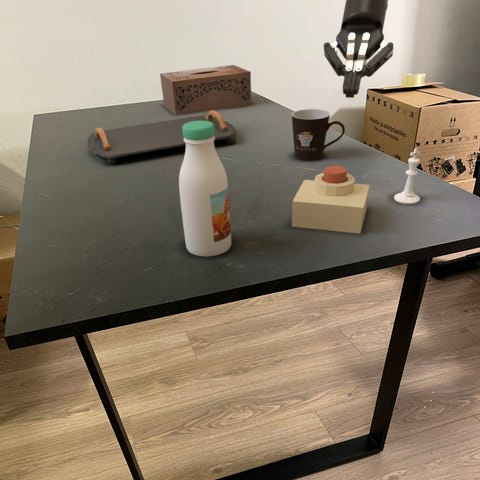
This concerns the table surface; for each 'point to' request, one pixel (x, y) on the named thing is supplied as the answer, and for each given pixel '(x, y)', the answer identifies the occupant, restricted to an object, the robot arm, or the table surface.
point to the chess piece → (409, 182)
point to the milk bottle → (204, 193)
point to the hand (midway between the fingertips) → (349, 95)
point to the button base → (330, 205)
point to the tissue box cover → (206, 89)
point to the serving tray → (152, 136)
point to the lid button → (335, 174)
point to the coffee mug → (311, 133)
